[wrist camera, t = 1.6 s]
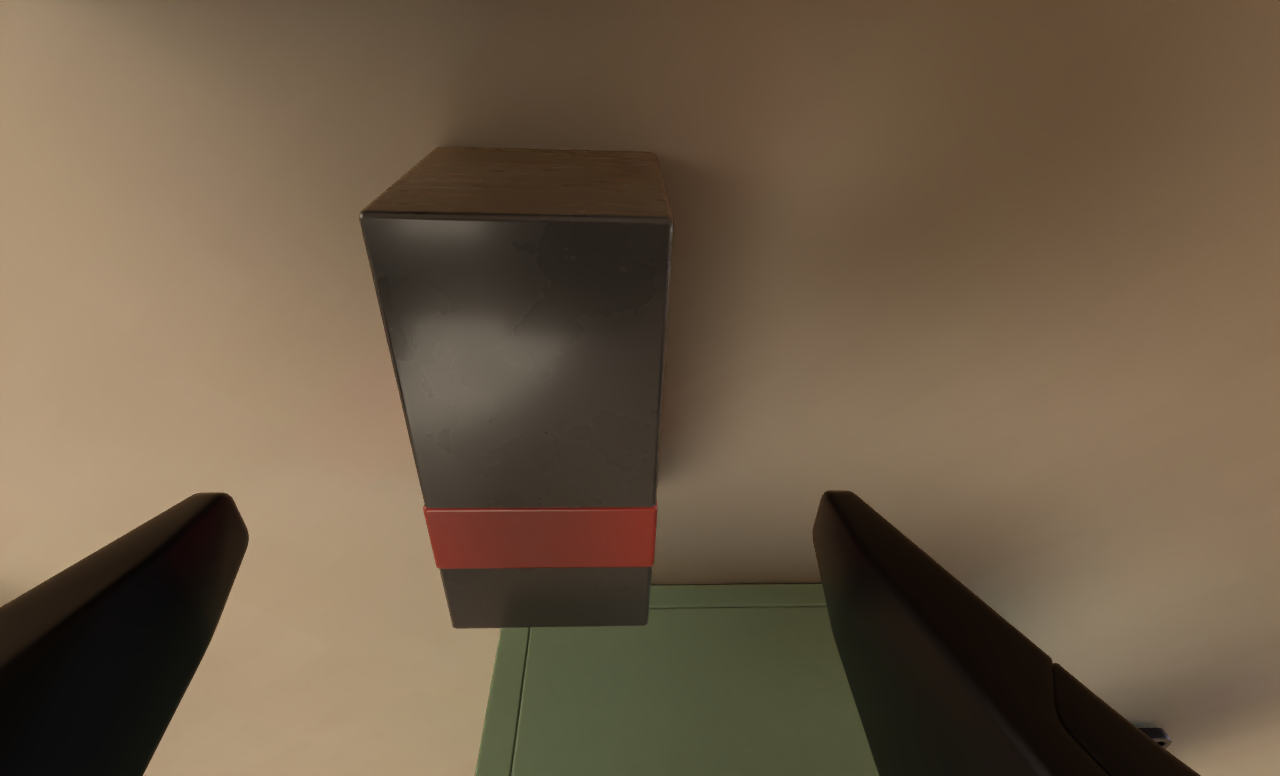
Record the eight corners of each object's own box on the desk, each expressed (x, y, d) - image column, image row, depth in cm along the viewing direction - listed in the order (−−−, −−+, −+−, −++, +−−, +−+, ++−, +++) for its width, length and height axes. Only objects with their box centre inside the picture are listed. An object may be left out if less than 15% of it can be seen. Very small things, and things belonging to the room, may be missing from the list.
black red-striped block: (657, 151, 11) (677, 218, 8) (641, 492, 16) (649, 628, 12) (434, 145, 11) (350, 212, 7) (485, 492, 15) (449, 632, 12)
